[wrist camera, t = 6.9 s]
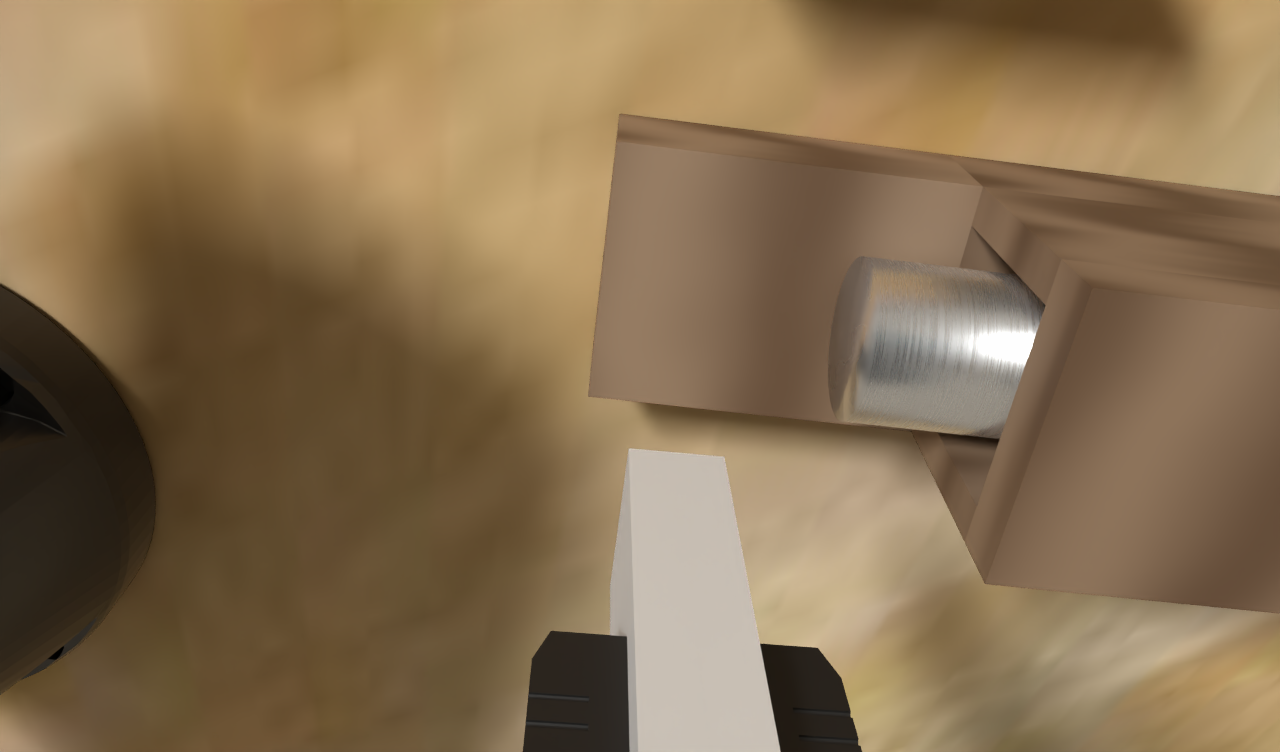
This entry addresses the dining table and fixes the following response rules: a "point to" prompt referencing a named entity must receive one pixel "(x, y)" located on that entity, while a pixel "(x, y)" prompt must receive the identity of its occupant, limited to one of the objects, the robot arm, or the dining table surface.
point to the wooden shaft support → (1056, 366)
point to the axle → (929, 346)
